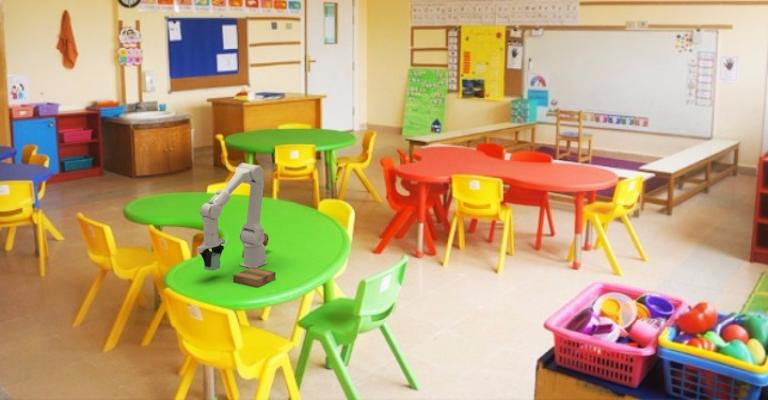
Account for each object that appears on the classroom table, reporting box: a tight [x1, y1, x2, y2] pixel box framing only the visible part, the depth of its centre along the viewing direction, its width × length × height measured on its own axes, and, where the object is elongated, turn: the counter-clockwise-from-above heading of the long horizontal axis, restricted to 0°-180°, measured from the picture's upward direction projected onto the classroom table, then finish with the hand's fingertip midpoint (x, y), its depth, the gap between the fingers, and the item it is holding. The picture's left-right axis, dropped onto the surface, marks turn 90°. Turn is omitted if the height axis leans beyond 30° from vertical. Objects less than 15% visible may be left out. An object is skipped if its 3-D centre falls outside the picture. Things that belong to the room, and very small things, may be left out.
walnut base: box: [232, 267, 276, 288], centre depth 320 cm, size 12×12×3 cm
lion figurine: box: [241, 232, 270, 258], centre depth 352 cm, size 15×5×9 cm, turn 138°
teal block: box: [203, 253, 221, 272], centre depth 320 cm, size 4×4×6 cm
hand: (212, 264), depth 320 cm, fingers closed on teal block, 4 cm apart
